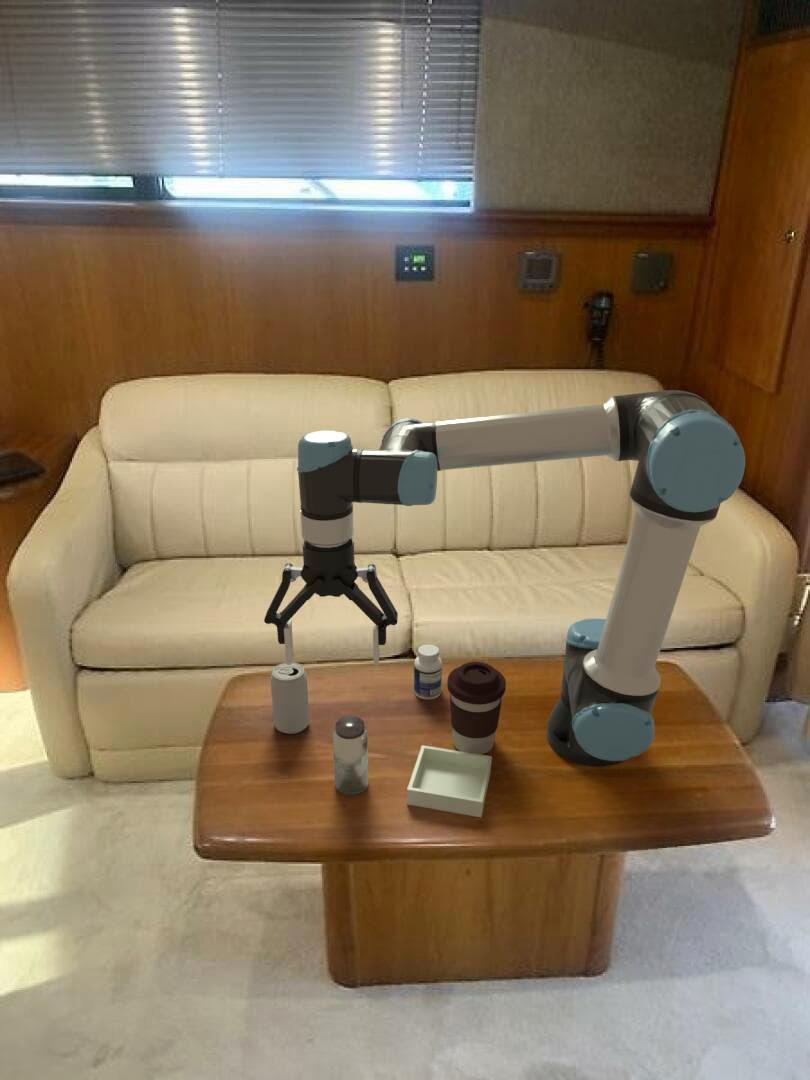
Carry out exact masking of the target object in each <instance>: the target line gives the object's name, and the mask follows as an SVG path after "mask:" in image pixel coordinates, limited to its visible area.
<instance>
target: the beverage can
mask: <svg viewBox="0 0 810 1080" xmlns="http://www.w3.org/2000/svg"><path fill="white" fill-rule="evenodd" d="M307 675H308V674H307V672H306V671H305V668H304V666H303V665H302V664H301V663H298V662H295V661H294V662H293V661H292V664H291V665H286V662H283V663H279V664H277V665H276V666H275V667H273V669H272V672H271V675H270V687H271V688H270V689H271V701H272V713H273V724H274V728H275V729H276V730H277V731H278V732H281V733H283V734H286V735H287V734H288V735H294V734H298V733H301V732H302V731H304V730H305V729H306V728H308V726H309V724H310V709H309V706H310V705H309V693H308V692H309V691H308V676H307Z"/></svg>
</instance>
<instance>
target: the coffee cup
mask: <svg viewBox="0 0 810 1080" xmlns="http://www.w3.org/2000/svg"><path fill="white" fill-rule="evenodd" d="M446 683H447V690H448V692H449V707H450V710H449V711H450V724H451V727H452V743H453V745H454V747H455V748H456V750H457V751H461V752H467V753H474V754H480V755H486V753H488V752H490V751H491V750H492V749H493V747H494V745H495V740H496V739H495V737H496V732H497V729H498V727H499V721H500V714H501V708H502V697H503V696H504V695H505V693H506V684H507V681H506V678H505V676H504V675H503V674H502V673H501V672H500V671H499V670H497V669H496V668H495V667H493V666H492V665H491V664H488V663H486V662H480V661H470V662H466V663H463V664H462V665H460V666H458V667H456V668H454V669H453V670H451V671H450V673H449V674H448V675H447V682H446Z"/></svg>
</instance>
